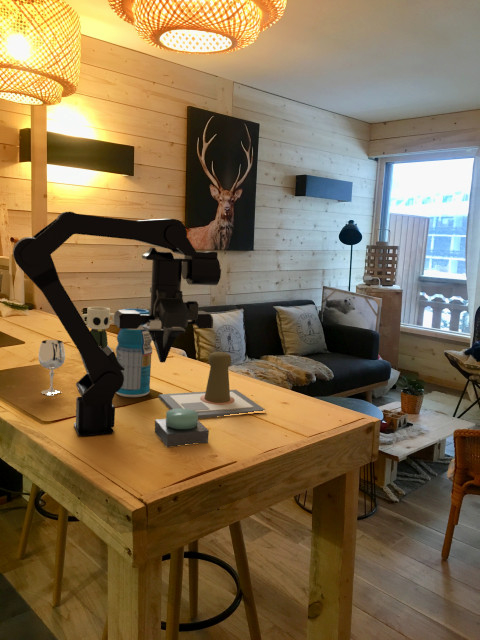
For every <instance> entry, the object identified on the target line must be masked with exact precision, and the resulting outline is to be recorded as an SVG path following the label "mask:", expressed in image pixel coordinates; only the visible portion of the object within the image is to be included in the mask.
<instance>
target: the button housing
mask: <svg viewBox="0 0 480 640" xmlns="http://www.w3.org/2000/svg"><path fill="white" fill-rule="evenodd" d="M154 433H155V434H156V436H157V437H158V438H159V440H161V442H162V443H163V444H164V445H165V447H166V446H167V447H166V448H171V447H170V446H176V447H179V446H178V445H185V444H193V443H204V444H208V443H209V436H210V435H209V433H210V430H209V429H208V428H207V427H206V426H205V424H203V423H202V422H201V421H199V420H198V423H197V426H196V427H194V428H191V429H175V428H171V427H169V426H167V425H166V418H160V419H159V418H158V419H157V418H156V419H155V420H154ZM185 446H186V445H185Z"/></svg>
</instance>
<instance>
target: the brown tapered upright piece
mask: <svg viewBox="0 0 480 640" xmlns="http://www.w3.org/2000/svg"><path fill="white" fill-rule="evenodd" d="M231 363H232V356H231V355H230V354H229V353H227V352H224V351H214V352H211V353H210V354H209V356H208V364H209V366H210V369H209V373H208V378H207V383H206V388H205V392H206V393H205V398H204V399H205V400H207V401H209V402H214V403H225V402H228V401H230V390H231V389H230V378H229V377H230V376H229V367H230V366H231Z"/></svg>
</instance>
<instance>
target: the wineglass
mask: <svg viewBox="0 0 480 640" xmlns="http://www.w3.org/2000/svg"><path fill="white" fill-rule="evenodd" d="M65 360H66V351H65V345H64V342H63V340H60V339H59V340H58V339H46V340H41V343H40V346H39V350H38V363H39V364H40V366H41V367H43V368H45V369H47V370H50V371H49V373H48V374H49V379H50V387H49V388H48V389H44V390H42V391H41V393H42V394H41V393H40V394H41V395H43V394H45V395H44V396H55V395H54V394H57V393H60V391H61V390H60V391H59V389H56V390H55V388H54V386H53V383H54V382H53V381H54V376H55V371H54V370H56V369H58V368H60V367H62V366H63V365H64V364H65ZM52 394H53V395H52Z"/></svg>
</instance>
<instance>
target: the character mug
mask: <svg viewBox="0 0 480 640" xmlns="http://www.w3.org/2000/svg"><path fill="white" fill-rule="evenodd" d="M86 310H87V311H86V312H87V313H83V314H81V317H82V319H83V320H84V322H85V324H86V325H87V327H88V329H89V330H90V332H91V334H92V335H93V337H94V339H95V340H96V342H97V344H98V345H99V346H100V347H101V348H102V349H104V348H105V347H106V346H107V345H108V343H109V342H108V334H107V331H106V330H107V329H109V327H110V325H111V324H114V315H115V312H114V313H113V312H111V308H110V307H107V306H106V307H105V306H89V307H87V309H86ZM85 318H86V319H85ZM85 320H86V321H85ZM108 346H109V345H108Z"/></svg>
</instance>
